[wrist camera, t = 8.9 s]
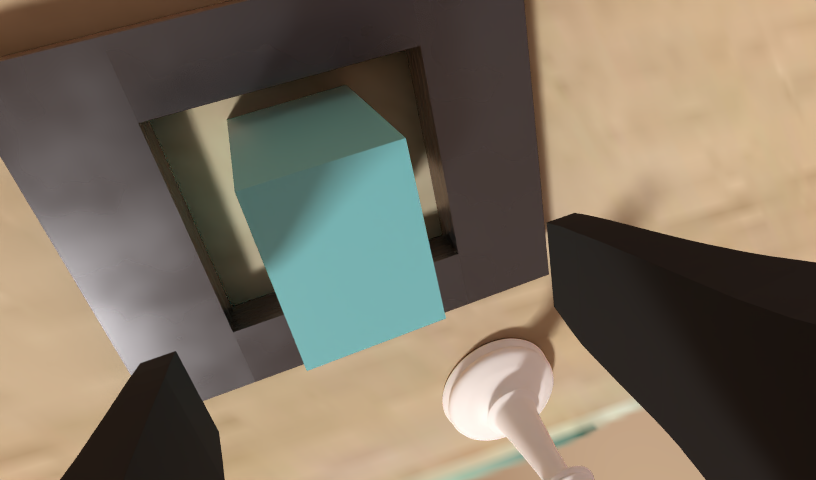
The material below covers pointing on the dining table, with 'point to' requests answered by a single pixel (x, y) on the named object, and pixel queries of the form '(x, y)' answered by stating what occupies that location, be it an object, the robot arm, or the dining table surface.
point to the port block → (239, 74)
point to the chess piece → (508, 403)
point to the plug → (335, 222)
